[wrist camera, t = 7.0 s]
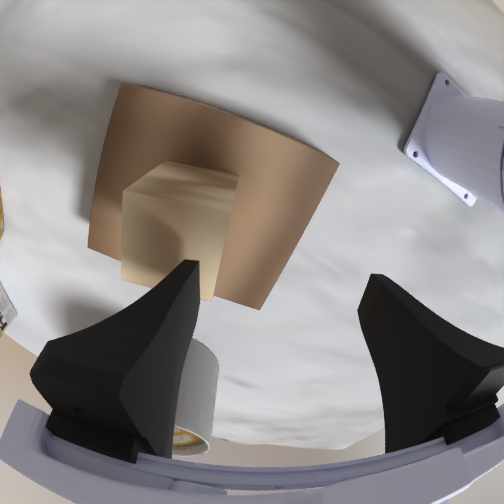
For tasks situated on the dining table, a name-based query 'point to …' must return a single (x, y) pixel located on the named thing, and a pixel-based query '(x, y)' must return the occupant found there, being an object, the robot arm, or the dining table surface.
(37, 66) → the dining table surface
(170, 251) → the beech block
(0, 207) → the pastry
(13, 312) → the coffee box
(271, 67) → the dining table surface
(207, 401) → the coffee mug
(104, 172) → the walnut base
